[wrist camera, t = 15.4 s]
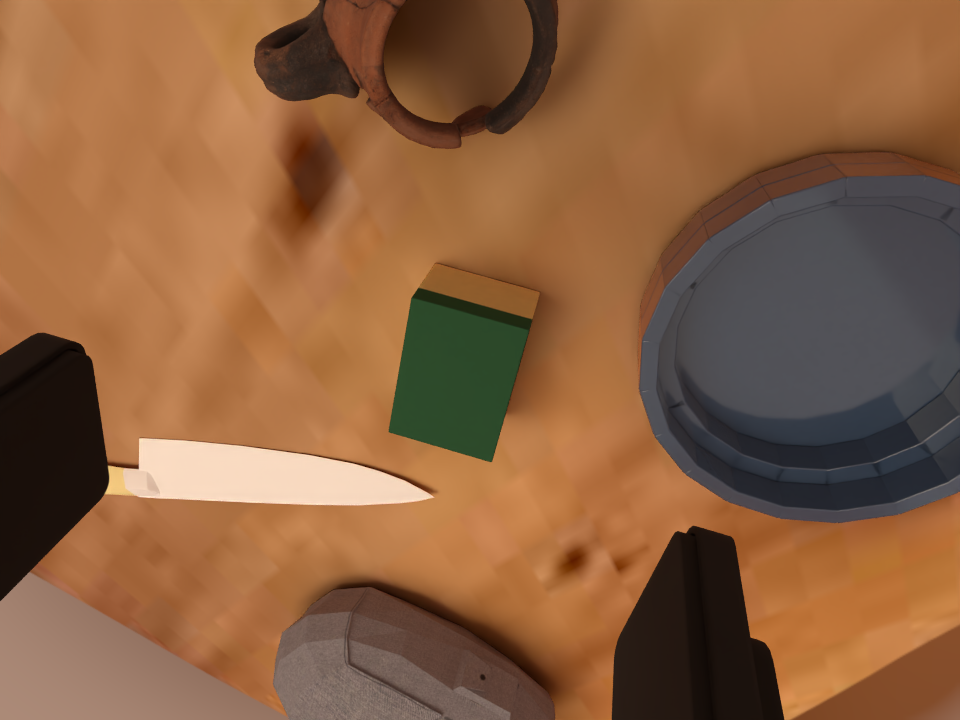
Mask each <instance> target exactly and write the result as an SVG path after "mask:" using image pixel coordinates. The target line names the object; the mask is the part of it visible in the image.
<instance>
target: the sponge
mask: <svg viewBox="0 0 960 720" xmlns="http://www.w3.org/2000/svg"><path fill="white" fill-rule="evenodd" d="M539 295H540V292H538V291H534V290H531V289H527V288H524V287H520V286H516V285H513V284H509V283H506V282H502V281H498V280H495V279H491V278H487V277H484V276H480V275H477V274H473V273H469V272H466V271H462V270H459V269H455V268H451V267H448V266H444V265H440V264H437V263H435V264H434V266H433V267H432V269H431V270H430V272H429V273H428V275H427V276H426V278H425V279H424V280H423V282H422V283H421V285H420V286H419V288H418V289H417V291H416V292H415V294H414V295H413V297H412V298H411V304H410V310H409V316H408V322H407V327H406V333H405V339H404V345H403V351H402V357H401V362H400V368H399V374H398V380H397V386H396V391H395V397H394V403H393V409H392V415H391V420H390V426H389V432H390V433H393V434H397V435H400V436H404V437H407V438H410V439H414V440H417V441H421V442H424V443H427V444H431V445H434V446H438V447H441V448H444V449H448V450H451V451H455V452H458V453H461V454H465V455H468V456H472V457H475V458H479V459H482V460H485V461H489V462H492V460H493V456H494V453H495V449H496V446H497V442H498V439H499V435H500V432H501V428H502V425H503V421H504V418H505V414H506V411H507V407H508V404H509V400H510V397H511V393H512V390H513V386H514V383H515V379H516V376H517V372H518V369H519V365H520V362H521V358H522V355H523V351H524V348H525V344H526V341H527V337H528V334H529V330H530V327H531V323H532V319H533V316H534V312H535V309H536V305H537V302H538V298H539Z"/></svg>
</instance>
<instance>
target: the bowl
mask: <svg viewBox="0 0 960 720" xmlns="http://www.w3.org/2000/svg"><path fill="white" fill-rule="evenodd" d="M638 373H639V392H640V395H641V398H642V401H643V404H644V407H645V410H646V413H647V416H648V419H649V422H650V425H651V429H652V432H653V434H654V435H655V438H656V439H657V440H658V441H659V443H660V444H661V445H662V446H663V448H664V449H665V450H666V451H667V453H668V454H669V455H670V456H671V458H672V459H673V460H674V461H675V463H676V464H677V465H678V466H679V468H680V469H681V470H682V471H683V473H685V474H686V475H687V476H689V477H690V478H692V479H693V480H695V481H696V482H698V483H699V484H701V485H702V486H704V487H705V488H707V489H708V490H710V491H711V492H713V493H715V494H716V495H718V496H719V497H721V498H722V499H724V500H725V501H728V502H730V503H733V504H736V505H739V506H742V507H745V508H748V509H751V510H754V511H758V512H761V513H764V514H767V515H770V516H773V517H776V518H780V519H790V520H803V521H816V522H829V523H837V522H838V523H843V522H850V521H857V520H864V519H871V518H879V517H886V516H893V515H898V514H902V513H905V512H907V511H910V510H913V509H915V508H918V507H921V506H923V505H926V504H929V503H932V502H934V501H937V500H940V499H942V498H945V497H948V496H951V495H953V494H956V493H958V492H960V174H958V173H957V172H954V171H953V170H950V169H947V168H943V167H940V166H936V165H933V164H930V163H926V162H923V161H920V160H916V159H913V158H909V157H906V156H903V155H899V154H896V153H890V152H867V153H828V154H818V155H815V156H812V157H809V158H806V159H802V160H799V161H796V162H793V163H790V164H787V165H783V166H780V167H777V168H774V169H771V170H768V171H764V172H761V173H758V174H756V175H755V176H752V177H750V178H749V179H747V180H746V181H744V182H743V183H741V184H740V185H738V186H737V187H735V188H733V189H732V190H730V191H729V192H727V193H726V194H724V195H723V196H721V197H720V198H718V199H717V200H715V201H713V202H712V203H710V204H709V205H707V206H706V207H704V208H703V209H701V211H699V212H698V213H697V214H696V215H695V216H694V217H693V219H692V220H691V221H690V222H689V223H688V224H687V226H686V227H685V228H684V229H683V230H682V231H681V233H680V234H679V235H678V236H677V237H676V238H675V239H674V241H673V242H672V243H671V244H670V245H669V246H668V248H667V249H666V250H665V251H664V252H663V253H662V255H661V257H660V259H659V261H658V264H657V266H656V268H655V271H654V273H653V275H652V278H651V280H650V283H649V285H648V287H647V290H646V292H645V294H644V297H643V299H642V302H641V305H640V321H639V339H638Z"/></svg>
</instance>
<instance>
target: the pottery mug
mask: <svg viewBox="0 0 960 720" xmlns="http://www.w3.org/2000/svg"><path fill="white" fill-rule="evenodd" d="M406 1H407V0H320V3H319V4H318V6H317V7H316V8H315V9H314V10H313V11H312V12H311V13H310V14H309V15H308V16H307V17H305V18H303V19H300V20H298V21H296V22H294V23H292V24H289V25H287V26H284V27H282V28H280V29H278V30H276V31H274V32H273V33H271V34H269V35H267V36H266V37H264V38H263V39H262V40H261V41H260V42H259V43H258V44H257V45H256V48H255V58H254V63H255V64H254V66H255V68H256V72H257V74H258V75H259V77H260V78H261V79H262V80H263V82H264V84H265V86H266V88H267V89H268V90H269V91H270V92H272V93H273V94H275V95H277V96H278V97H279V98H281V99H284V100H288V101H301V100H310V99H314V98H317V97H320V96H323V95H327V94H340V95H343V96H346V97H348V98H356V97H357V96H358V94H359V90H360V88H361V89H364V90H365V91H366V92H367V93H368V94H369V98H368V100H367V102H366V103H367V105H368V106H369V107H370V108H371V109H372V110H373V111H375V112H376V113H378V114H379V115H380V116H382V117H383V119H384V120H385V121H387V122H388V123H389V124H390V125H391V126H392V127H393V128H394V129H395V130H396V131H397V132H399V133H400V134H402V135H403V136H405V137H406V138H408V139H409V140H412V141H415V142H417V143H419V144H422V145H426V146H429V147H432V148H445V149H453V148H459V147H461V137H464V136H469V135H472V134H476V133H479V132H481V131H483V130H485V129H488V130H489V131H490V132H492V133H496V134H504V133H505V132H507V131H509V130H510V129H511V128H512V127H513V126H515V125H516V124H517V123H518V122H519V121H520V120H522V119H523V117H524V116H525V115H526V113H527V112H528V111H529V110H530V109H531V108H532V107H533V106H534V105H535V103H536V102H537V100H538V99H539V98H540V96H541V94H542V93H543V91H544V89H545V86H546V84H547V82H548V79H549V77H550V74H551V65H552V64H553V62H554V60H555V54H556V50H557V27H558V5H557V0H524V1H525V3H526V5H527V7H528V9H529V12H530V15H531V19H532V25H533V46H532V52H531V56H530V59H529V62H528V64H527V67H526V69H525V72H524V74H523V76H522V78H521V79H520V81H519V83H518V84H517V86H516V87H515V89H514V90H513V91H512V92H511V94H510V95H509V96H508V97H507V98H506V99H505V100H504V101H503V102H501V103H500V104H499V105H498V106H497V107H495V108H494V109H491V108H487V107H485V106H477V107H474V108H472V109H471V110H469V111H467V112H465V113H463V114H462V115H460V116H458V117H457V118H456V119H455V120H454V121H453V122H452V123H438V122H433V121H429V120H425V119H423V118H420V117H418V116H416V115H414V114H412V113H411V112H409V111H408V110H407V109H406V108H405V107H403V106H402V105H401V104H400V103H399V101H398V100H397V99H396V97H395V96H394V94H393V93H392V91H391V89H390V88H389V86H388V84H387V80H386V76H385V71H384V63H383V55H384V46H385V40H386V37H387V34H388V30H389V28H390V25H391V23H392V21H393V19H394V17H395V16H396V14H397V13H398V10H399V9H400V7H401V6H402V5H403V4H404V3H405V2H406Z"/></svg>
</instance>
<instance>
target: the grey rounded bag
mask: <svg viewBox="0 0 960 720" xmlns="http://www.w3.org/2000/svg"><path fill="white" fill-rule="evenodd" d="M273 685H274V688H275V690H276V692H277V694H278V696H279V698H280V700H281V703H282V705H283V707H284V709H285V711H286V713H287V716H288V718H289V720H555V711H554V703H553V701H552V699H551V697H550V695H549V693H548V692H547V691H546V690H545V689H543V688H542V687H541V686H540V685H539V684H538V683H537V682H535V681H534V680H533V679H532V678H531V677H530V676H528V675H527V674H526V673H525V672H524V671H523V670H521V669H520V668H519V667H518V666H517V665H516V664H515V663H513V662H512V661H511V660H510V659H509V658H507V657H506V656H504V655H503V654H501V653H500V652H499V651H497V650H496V649H494V648H493V647H491V646H490V645H488V644H487V643H486V642H484V641H483V640H481V639H480V638H478V637H477V636H475V635H474V634H473V633H471V632H470V631H468V630H467V629H465V628H463V627H461V626H459V625H457V624H455V623H452V622H450V621H448V620H446V619H444V618H442V617H439V616H437V615H435V614H433V613H431V612H429V611H426V610H424V609H422V608H420V607H418V606H416V605H413V604H411V603H408V602H406V601H403V600H401V599H399V598H396V597H394V596H391V595H389V594H386V593H384V592H382V591H379V590H377V589H374V588H372V587H362V588H349V589H336V590H332V591H331V592H329V593H328V594H326V595H325V596H323V597H322V598H321V599H319V600H318V601H316V602H315V603H313V604H312V605H310V607H309V608H308V610H307V611H306V612H305V614H304V615H303V616H302V617H301V618H300V619H299V620H297V621H296V622H295V623H294V624H293V625H291V626H290V627H289V628H288V629H286V630H285V631H284V632H283V633H282V636H281V640H280V644H279V648H278V652H277V656H276V662H275V671H274V680H273Z"/></svg>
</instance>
